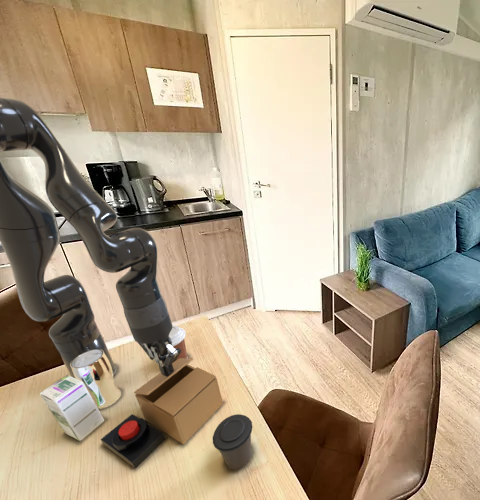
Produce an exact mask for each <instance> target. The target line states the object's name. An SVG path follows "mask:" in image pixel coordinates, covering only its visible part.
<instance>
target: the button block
mask: <svg viewBox="0 0 480 500" xmlns="http://www.w3.org/2000/svg"><path fill="white" fill-rule="evenodd" d="M129 421H137V423H138V425H139V428H140V429H139V432H138V433H137V434H136V435H135V436H134V437H133V438H131V439H129V440H122V439H121V437H120V436H119V433H118V432H119V429H120V428H121V426H123V425H124V424H125V423H127V422H129ZM100 441H101V442H102V444H103V446H104V447H106V448H107V449H108V450H109V451H111V452H112V453H113V454H114V455H116V456H118V457H119V458H120V459H121V460H123V461H124V462H126V463H127V464H128V465H129V466H131V467H132V468H133V469H137V468H138V467H139V466H140V465H141V464H142V463H143V462H144V461H145V460H146V459H147V458H148V457H149V456H150V455H151V454H152V453H154V452H155V450H157V449H158V447H160V446H161V445H162V444H163V443H164V442H165V441H166V438H165V434H164V432H162V431H161V430H159V429H157V428H156V427H154V426H153V425H151V424H150V423H148V422H147V421H146V419H145V418H143V417H140V418H139V417H138V416H136V415H135V414H133V413H131V414H130V415H128V417H127V418H125V419H124V420H123V421H121V422H120V423H119V424H117V426H115V427H114V428H113V429H112V430H110V431H108V433H107V434H105V435H104V436H103V437H102V438H100Z"/></svg>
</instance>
